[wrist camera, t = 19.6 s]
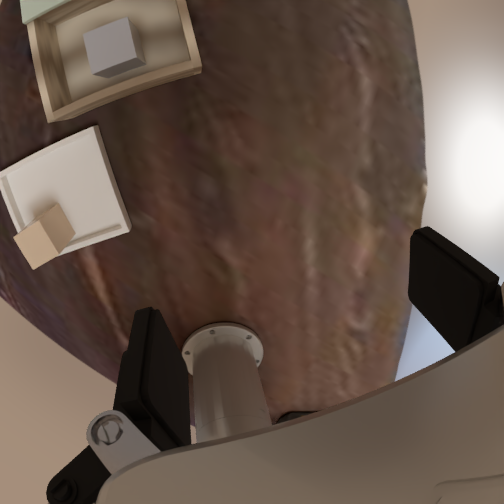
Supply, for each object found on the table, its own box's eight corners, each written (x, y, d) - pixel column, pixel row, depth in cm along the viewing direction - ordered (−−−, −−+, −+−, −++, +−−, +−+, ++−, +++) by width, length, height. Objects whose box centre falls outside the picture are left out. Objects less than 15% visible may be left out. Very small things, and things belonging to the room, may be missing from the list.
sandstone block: (75, 233, 36) (59, 254, 31) (51, 247, 36) (33, 269, 31) (58, 202, 34) (38, 220, 28) (34, 218, 34) (13, 237, 29)
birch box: (201, 73, 31) (202, 65, 25) (72, 118, 30) (48, 122, 24) (176, -23, 25) (173, -47, 19) (51, 25, 24) (25, 13, 18)
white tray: (132, 225, 37) (129, 231, 36) (38, 258, 37) (33, 264, 35) (98, 125, 31) (92, 126, 30) (2, 171, 31) (-5, 175, 29)
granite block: (146, 64, 29) (136, 57, 24) (108, 78, 29) (91, 74, 23) (138, 30, 27) (127, 16, 21) (100, 44, 27) (82, 34, 21)
